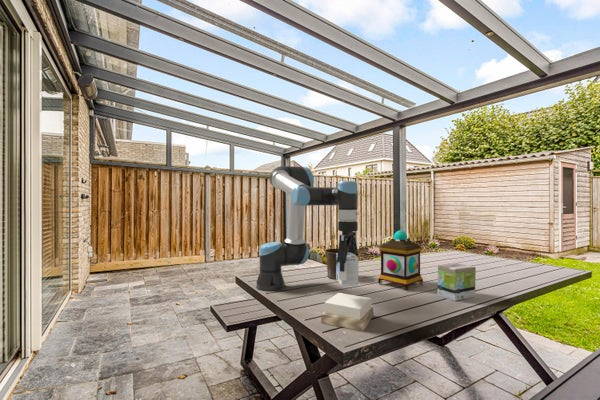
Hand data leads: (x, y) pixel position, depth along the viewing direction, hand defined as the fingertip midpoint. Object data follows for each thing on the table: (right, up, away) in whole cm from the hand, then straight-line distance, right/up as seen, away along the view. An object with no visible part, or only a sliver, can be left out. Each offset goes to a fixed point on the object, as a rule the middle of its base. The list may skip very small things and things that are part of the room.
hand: (347, 276), depth 117 cm
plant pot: (+4, -17, +64) cm, 66 cm away
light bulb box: (0, -3, 0) cm, 3 cm away
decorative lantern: (+37, -17, +48) cm, 63 cm away
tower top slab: (0, -13, 0) cm, 13 cm away
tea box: (+57, -17, +28) cm, 66 cm away
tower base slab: (0, -17, 0) cm, 17 cm away
